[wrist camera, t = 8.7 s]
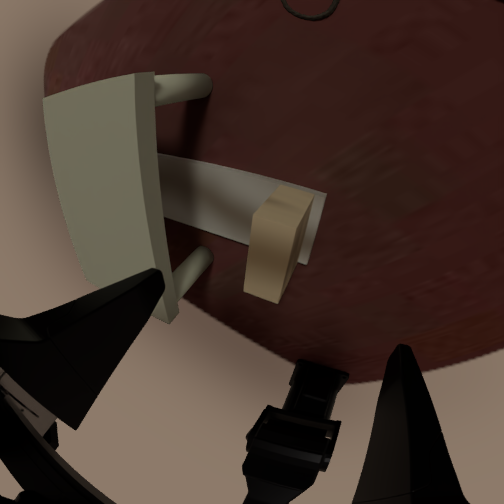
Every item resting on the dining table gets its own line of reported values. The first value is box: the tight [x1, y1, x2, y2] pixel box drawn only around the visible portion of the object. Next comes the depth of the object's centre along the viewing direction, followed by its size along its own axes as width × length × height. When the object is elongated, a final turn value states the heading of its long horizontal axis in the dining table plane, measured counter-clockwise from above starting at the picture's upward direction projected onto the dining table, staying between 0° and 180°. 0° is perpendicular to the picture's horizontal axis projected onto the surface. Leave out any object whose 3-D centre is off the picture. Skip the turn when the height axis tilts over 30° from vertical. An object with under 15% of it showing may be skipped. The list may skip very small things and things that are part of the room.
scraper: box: [157, 153, 327, 304], centre depth 21 cm, size 6×21×6 cm, turn 84°
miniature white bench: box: [43, 72, 214, 324], centre depth 20 cm, size 18×11×8 cm, turn 177°
